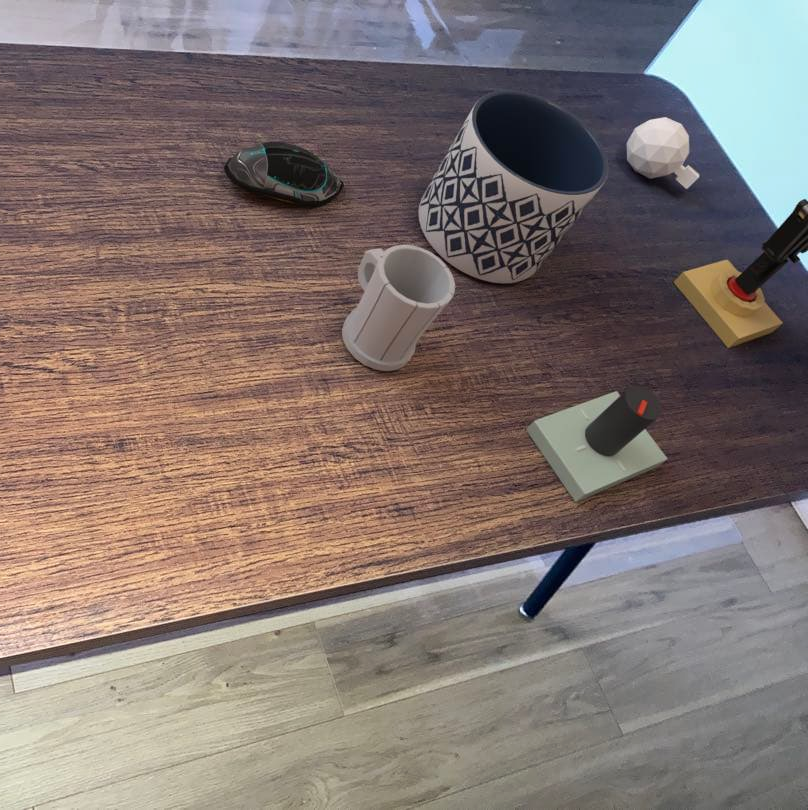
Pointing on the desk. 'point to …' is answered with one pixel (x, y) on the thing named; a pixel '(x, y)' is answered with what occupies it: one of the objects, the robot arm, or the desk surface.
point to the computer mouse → (284, 174)
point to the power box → (726, 304)
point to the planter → (511, 186)
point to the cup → (396, 304)
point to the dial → (623, 420)
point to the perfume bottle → (661, 150)
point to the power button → (739, 291)
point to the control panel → (590, 450)
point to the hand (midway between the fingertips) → (744, 286)
